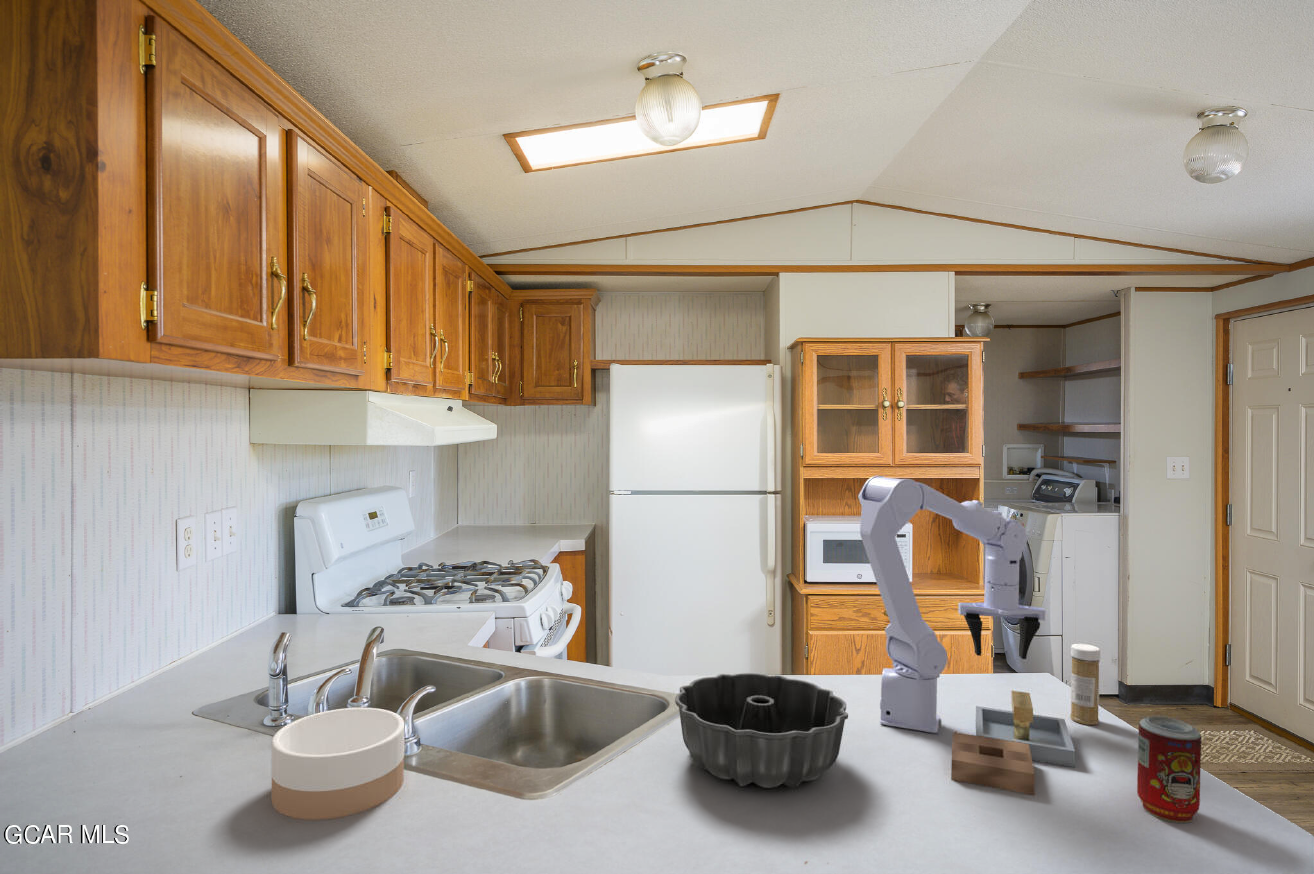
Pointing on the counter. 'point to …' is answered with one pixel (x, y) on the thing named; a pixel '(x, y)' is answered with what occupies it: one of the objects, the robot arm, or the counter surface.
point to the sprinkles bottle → (1085, 684)
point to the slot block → (992, 763)
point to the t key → (1022, 714)
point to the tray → (1045, 734)
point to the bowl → (337, 763)
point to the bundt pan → (761, 728)
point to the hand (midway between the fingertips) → (1000, 655)
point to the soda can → (1169, 768)
